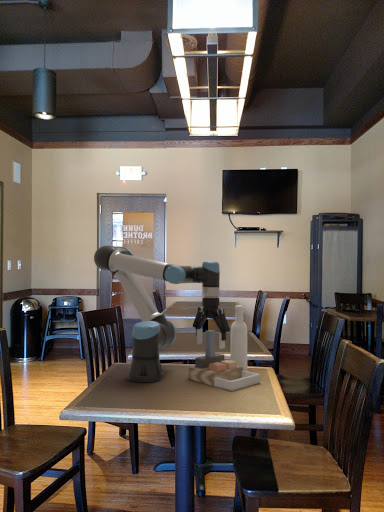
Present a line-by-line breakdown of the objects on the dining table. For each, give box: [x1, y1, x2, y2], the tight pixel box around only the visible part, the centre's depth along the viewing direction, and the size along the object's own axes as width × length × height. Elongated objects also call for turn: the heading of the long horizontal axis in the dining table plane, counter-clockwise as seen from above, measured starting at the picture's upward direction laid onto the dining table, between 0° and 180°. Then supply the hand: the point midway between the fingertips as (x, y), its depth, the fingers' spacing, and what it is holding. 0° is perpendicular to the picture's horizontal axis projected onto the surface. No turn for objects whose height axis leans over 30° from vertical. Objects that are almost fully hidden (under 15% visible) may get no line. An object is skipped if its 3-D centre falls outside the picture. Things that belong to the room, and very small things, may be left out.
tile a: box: [209, 362, 226, 372], centre depth 173 cm, size 5×5×2 cm
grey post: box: [194, 329, 225, 369], centre depth 181 cm, size 4×14×15 cm, turn 133°
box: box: [213, 370, 261, 392], centre depth 170 cm, size 9×18×4 cm, turn 133°
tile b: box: [220, 359, 237, 369], centre depth 178 cm, size 5×5×2 cm
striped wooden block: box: [188, 365, 243, 387], centre depth 178 cm, size 15×18×5 cm
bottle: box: [229, 304, 248, 371], centre depth 193 cm, size 8×8×30 cm
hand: (210, 346), depth 181 cm, fingers open, 13 cm apart
